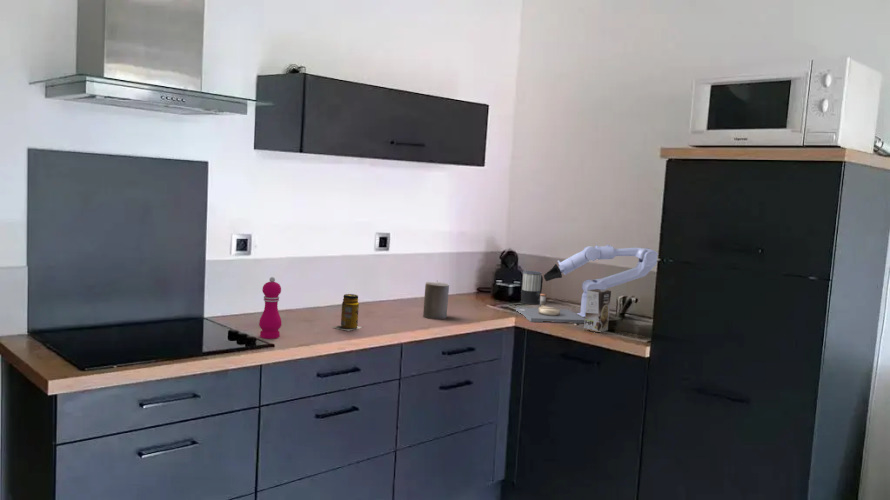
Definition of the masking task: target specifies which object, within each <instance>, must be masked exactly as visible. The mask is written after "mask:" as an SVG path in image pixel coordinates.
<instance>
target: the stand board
mask: <svg viewBox="0 0 890 500" xmlns="http://www.w3.org/2000/svg"><path fill="white" fill-rule="evenodd" d="M559 309H560V315H544V314H540V313H538V311H539V307H515V311H516V312H517V311H518V312H519V313H521V314H523V315H524V316H525V317H526V318H525V317H524V316H523V317H524V318H525V319H526V320H528V322H531V323H544V322H543V321H554V322H574V323H573V324H580V323H584V324H585V317H582V316H580V315H578V314H577V313H575V312H574V311H572V310H570V309H567V308H565V309H564V308H559ZM518 312H517V313H518ZM519 313H518V314H519ZM521 314H520V315H521Z"/></svg>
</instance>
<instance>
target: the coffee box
mask: <svg viewBox="0 0 890 500" xmlns="http://www.w3.org/2000/svg"><path fill="white" fill-rule="evenodd" d="M611 295H612V290H610V289H609V290H608V289H605V290H600V289H594V290H588V292H587V302H586V313H585V317H584V319H585V324H584V326H583V329H584V328H587V329H592V330H596V331H602V332H601V333H603V332H606V331H608V330H609V320H610V319H609V318H610V307H611V297H612V296H611Z"/></svg>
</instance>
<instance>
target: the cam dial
mask: <svg viewBox="0 0 890 500" xmlns="http://www.w3.org/2000/svg"><path fill="white" fill-rule="evenodd" d="M546 299H547V293H541V294H540V304H539V307H538V308H539V311H538V313H540V314H544V315H560V309H561V308H558V307H552V306H547V305H546Z"/></svg>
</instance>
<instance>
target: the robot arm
mask: <svg viewBox="0 0 890 500" xmlns="http://www.w3.org/2000/svg"><path fill="white" fill-rule="evenodd" d="M657 255H659V253H658V252H657V251H656V250H654V249H651V248H648V247H645V248H643V247H622V248H615V247H614V246H613V245H610V244H606V245H602V246H600V245H598V244H597V245H595V247H594V246H591V245H588V246H585V247H584V248H583V250H581V251H579V252H577V253H575V254H573V255H571V256H569V257H567V258H566V259H564V260H562V261H561V260H557V263H558V264H556V263H555V264H554V265H553V267H551V269H549V270H548V271H547V272H546V273H545V274H543V280H545V282H549V281H551V280H554V279H561V278H563V275H565V276H567V275H568V274H570V273H571V272H573V271H575V270H576V269H578V268H580V267H581V266H582V267H583V266H585V264H587V263H589V262H590V261H593V262H594V261H596V260H600V261H601V260H614V259H615V257H635V258H638V261H637V264H636V266H635V267H633V268H629V269H627V270H626V269H625V270H624V271H620V272H617V273H615V274H611V275H609V276H605V277H602V278H596V279H587V280H584V281H583V282H582V284H581V289H582V291H583V292H582V294H581V301H580V312H577V313H576V314H577V315H579V316H581V317H582V318H585V313H586V302H587V292H588V290H594V289H600V290H608V289H610V288H613V287H616V286H620V285H623V284H625V283H628V282H632V281H634V280H638V279H641V278H644V277H646V276H647V275H648V274H649V273H650V272H651V271H652V269H653V268H654V267H655V266H657V265H656V263H657V264H658V262H657ZM562 274H563V275H562Z"/></svg>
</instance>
